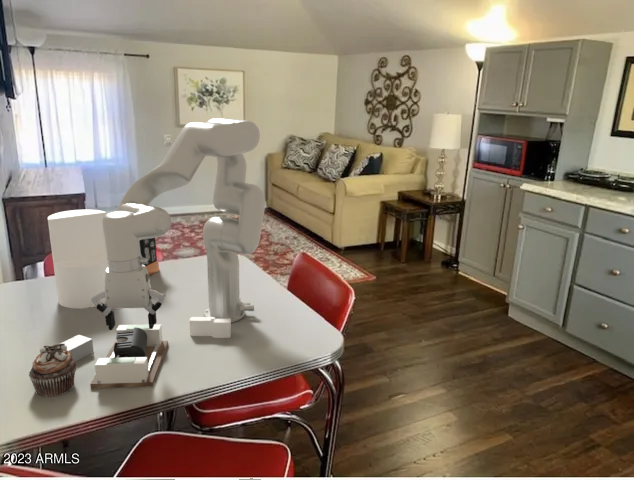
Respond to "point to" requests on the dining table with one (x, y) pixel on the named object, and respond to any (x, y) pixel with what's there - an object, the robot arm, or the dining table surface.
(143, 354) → the end cap
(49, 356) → the cupcake
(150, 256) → the whiskey bottle
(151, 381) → the rail board
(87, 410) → the dining table surface
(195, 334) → the white stepped block
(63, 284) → the cylinder
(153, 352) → the rail
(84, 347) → the block
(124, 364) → the mounted modules
